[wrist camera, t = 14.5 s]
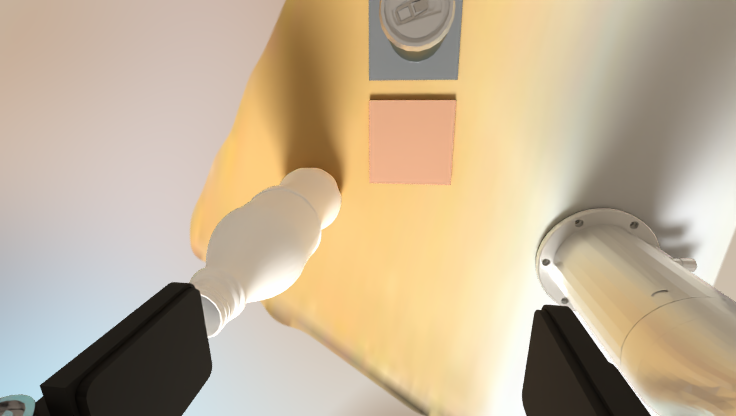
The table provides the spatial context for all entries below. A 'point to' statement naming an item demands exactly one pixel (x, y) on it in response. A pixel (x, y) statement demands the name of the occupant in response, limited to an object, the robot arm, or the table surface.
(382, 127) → the terracotta coaster
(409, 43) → the beer can
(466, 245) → the table surface
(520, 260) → the table surface
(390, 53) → the slate coaster
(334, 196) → the water bottle
